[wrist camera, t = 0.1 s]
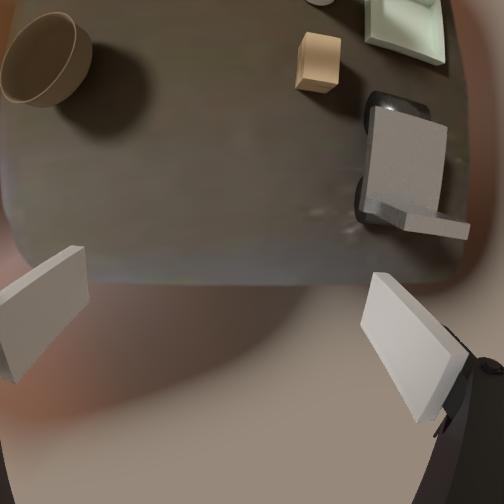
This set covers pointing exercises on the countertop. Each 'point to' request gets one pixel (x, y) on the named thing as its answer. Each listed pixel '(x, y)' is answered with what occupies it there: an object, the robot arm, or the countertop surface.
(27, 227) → the countertop surface
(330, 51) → the wooden block
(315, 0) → the drinking glass
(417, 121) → the grey toy cart
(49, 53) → the bowl
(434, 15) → the tray
